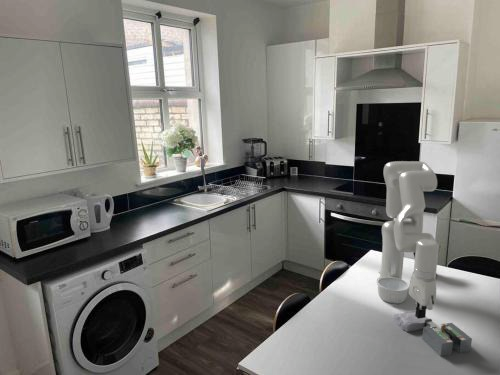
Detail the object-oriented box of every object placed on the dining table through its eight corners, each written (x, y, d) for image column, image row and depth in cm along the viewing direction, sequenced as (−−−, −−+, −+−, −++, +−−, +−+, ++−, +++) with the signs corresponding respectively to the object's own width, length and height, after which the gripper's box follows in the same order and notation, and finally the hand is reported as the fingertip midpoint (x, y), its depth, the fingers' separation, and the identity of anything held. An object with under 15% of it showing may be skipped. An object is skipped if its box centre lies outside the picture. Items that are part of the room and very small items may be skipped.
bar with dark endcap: (424, 326, 148) (425, 312, 147) (429, 325, 149) (431, 311, 147) (443, 343, 138) (445, 328, 136) (449, 342, 138) (451, 327, 137)
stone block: (390, 324, 155) (407, 333, 145) (390, 312, 155) (407, 321, 145) (415, 320, 158) (433, 329, 149) (414, 308, 158) (432, 317, 149)
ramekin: (403, 290, 177) (404, 277, 176) (411, 306, 164) (413, 291, 163) (373, 289, 179) (374, 276, 177) (380, 304, 166) (381, 290, 164)
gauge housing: (422, 338, 142) (423, 326, 141) (450, 334, 145) (451, 321, 143) (440, 356, 133) (442, 342, 131) (470, 351, 135) (472, 337, 134)
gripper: (403, 265, 148) (399, 307, 152) (428, 283, 134) (424, 329, 138) (420, 263, 149) (416, 305, 154) (447, 280, 135) (442, 326, 139)
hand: (420, 316), depth 146 cm, fingers closed
